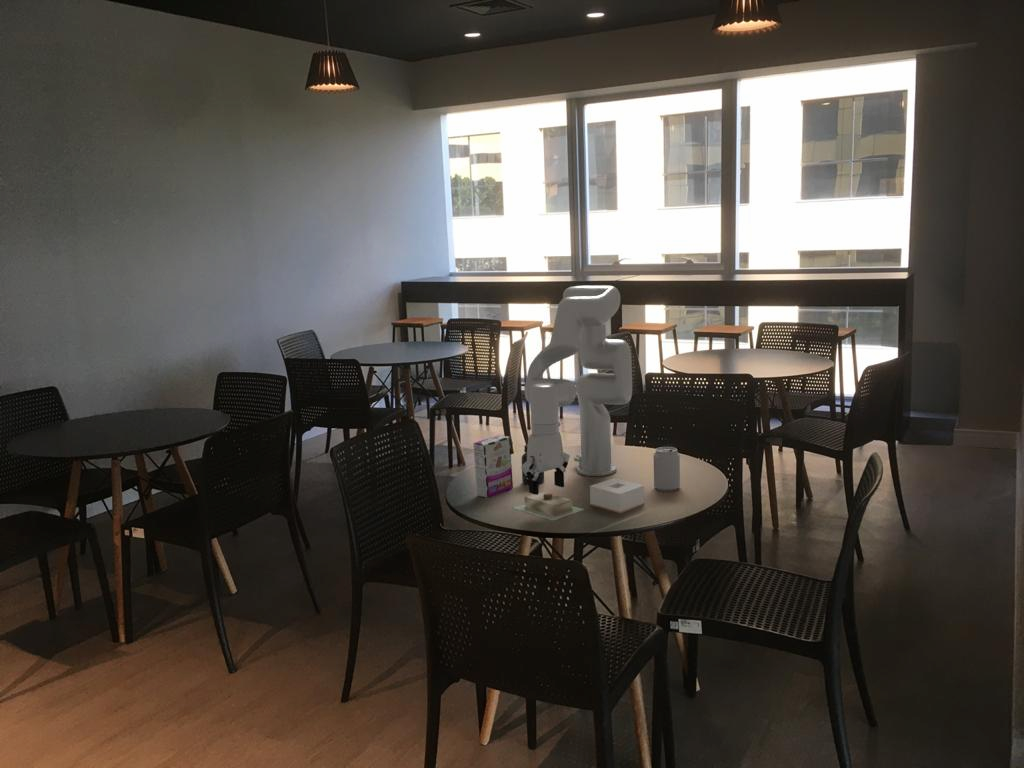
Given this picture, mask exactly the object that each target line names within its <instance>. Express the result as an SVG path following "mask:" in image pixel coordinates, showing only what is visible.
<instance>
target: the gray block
mask: <svg viewBox="0 0 1024 768" xmlns="http://www.w3.org/2000/svg"><path fill="white" fill-rule="evenodd" d="M589 500H590V502H589V503H590V506H592V507H596V508H600V509H604V510H606V511H607V510H608V511H611V512H615V513H617V514H622V513H625V512H628V511H631V510H633V509H636V508H639V507H642V506H645V485H644V484H640V483H636V482H631V481H627V480H623V479H619V478H616V477H612V478H609V479H607V480H604V481H601V482H597V483H595V484H592V485H589Z"/></svg>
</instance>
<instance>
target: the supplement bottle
mask: <svg viewBox="0 0 1024 768" xmlns="http://www.w3.org/2000/svg"><path fill="white" fill-rule="evenodd" d="M527 446H528V443H527V444H525V445H524V448H523V451H524V453H523V454H522V456H521V466H522V465H523V464H524V463H525V462H526V461H527ZM529 471H530V470H529ZM534 473H535V472H534ZM534 473H533V475H534ZM521 479H522V480H521V482H522V484H523V485H525V486H529V479H527V477H526V476H525V475H524V472H523V471H522V470H521ZM536 480H538V485H541V484H544V482H545V472H540V473H539V475H538V477H537V479H536Z"/></svg>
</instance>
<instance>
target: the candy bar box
mask: <svg viewBox="0 0 1024 768" xmlns="http://www.w3.org/2000/svg"><path fill="white" fill-rule="evenodd" d="M511 449H512V448H511V436H508V435H502V434H498V435H495V436H491V437H489V438H485V439H483V440H478V441H475V442H473V457H474V467H475V469H474V470H475V482H476V483H475V484H476V495H477V497H480V498H485V499H486V498H489V497H493V496H495V495H499V494H502V493H505V492H509V491H512V490H513V489H514V484H513V483H514V481H513V466H512V451H511Z"/></svg>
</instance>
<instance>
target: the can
mask: <svg viewBox="0 0 1024 768" xmlns="http://www.w3.org/2000/svg"><path fill="white" fill-rule="evenodd" d="M680 459H681V458H680V453H679V452H678V449H677V448H676V447H673V446H661V447H657V448H655V452H654V453H653V486H654V488H656V490H658V489H659V490H658V491H660V490H662V491H661V492H674V491H676V490H678V489H679V488H680V486H681V477H680V476H681V472H680V468H681V462H680V461H681V460H680ZM673 490H674V491H673Z"/></svg>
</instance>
